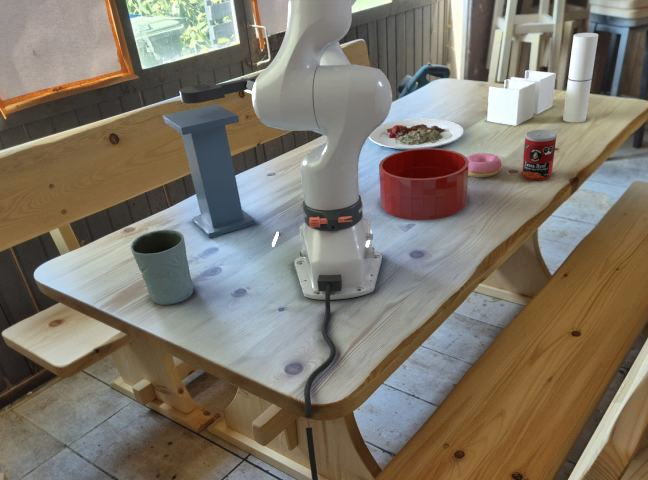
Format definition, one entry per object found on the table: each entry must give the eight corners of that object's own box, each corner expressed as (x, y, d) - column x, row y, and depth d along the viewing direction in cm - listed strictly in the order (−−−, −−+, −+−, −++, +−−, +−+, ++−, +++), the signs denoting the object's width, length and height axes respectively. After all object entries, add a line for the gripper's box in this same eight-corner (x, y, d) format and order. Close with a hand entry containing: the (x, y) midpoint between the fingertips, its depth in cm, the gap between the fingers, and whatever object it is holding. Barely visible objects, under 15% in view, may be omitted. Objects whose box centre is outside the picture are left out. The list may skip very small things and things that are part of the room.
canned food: (518, 179, 159) (521, 137, 152) (526, 169, 164) (530, 128, 158) (547, 182, 155) (552, 140, 149) (554, 172, 161) (559, 130, 154)
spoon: (253, 83, 140) (251, 73, 139) (266, 88, 135) (264, 78, 134) (177, 99, 132) (174, 89, 131) (188, 105, 128) (185, 94, 126)
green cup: (178, 276, 128) (163, 225, 121) (208, 290, 122) (194, 237, 115) (137, 298, 122) (119, 245, 115) (167, 313, 116) (150, 258, 109)
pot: (474, 216, 142) (476, 175, 136) (384, 223, 142) (382, 183, 136) (458, 182, 159) (460, 145, 154) (378, 189, 160) (376, 152, 154)
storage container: (516, 125, 195) (519, 90, 189) (487, 121, 201) (488, 86, 195) (552, 106, 210) (556, 73, 203) (524, 102, 216) (526, 70, 209)
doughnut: (489, 182, 158) (490, 166, 156) (453, 175, 164) (453, 160, 161) (508, 169, 165) (509, 154, 163) (473, 162, 171) (473, 148, 168)
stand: (237, 207, 156) (216, 103, 140) (258, 224, 147) (238, 115, 131) (189, 221, 151) (162, 115, 135) (208, 239, 142) (181, 128, 126)
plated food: (462, 153, 178) (462, 141, 176) (362, 154, 183) (362, 143, 181) (464, 123, 201) (464, 112, 199) (376, 125, 206) (375, 114, 204)
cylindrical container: (562, 122, 195) (573, 37, 180) (563, 115, 200) (573, 33, 185) (585, 122, 193) (598, 36, 178) (585, 116, 198) (598, 32, 184)
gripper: (279, 83, 150) (230, 62, 141) (319, 97, 136) (266, 74, 127) (271, 108, 152) (222, 89, 143) (310, 125, 138) (257, 104, 129)
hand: (243, 82), depth 135 cm, fingers closed on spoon, 2 cm apart
